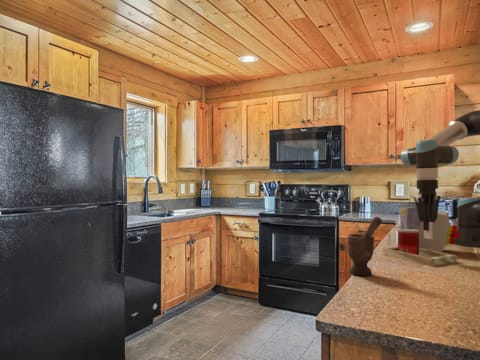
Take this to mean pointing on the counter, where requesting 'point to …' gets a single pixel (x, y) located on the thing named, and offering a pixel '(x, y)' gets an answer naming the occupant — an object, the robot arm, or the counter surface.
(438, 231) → the electrical switch box
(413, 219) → the cake pan box
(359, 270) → the mortar and pestle
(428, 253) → the slot frame
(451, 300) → the counter surface
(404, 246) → the canned food
